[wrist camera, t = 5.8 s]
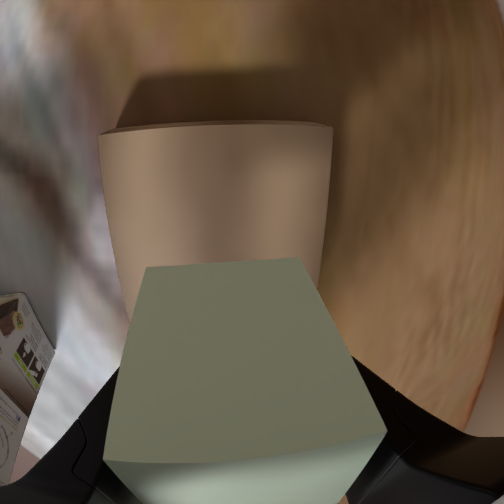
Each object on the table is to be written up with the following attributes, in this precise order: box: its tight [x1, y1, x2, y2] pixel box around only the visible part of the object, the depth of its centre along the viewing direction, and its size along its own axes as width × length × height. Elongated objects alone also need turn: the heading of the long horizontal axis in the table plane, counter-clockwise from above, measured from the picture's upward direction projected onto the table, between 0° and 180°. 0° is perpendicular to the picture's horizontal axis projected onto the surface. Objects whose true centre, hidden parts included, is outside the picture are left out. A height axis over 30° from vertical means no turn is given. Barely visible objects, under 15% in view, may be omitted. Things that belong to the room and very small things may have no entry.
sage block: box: [103, 257, 387, 504], centre depth 8 cm, size 4×4×6 cm
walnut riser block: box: [97, 120, 333, 323], centre depth 17 cm, size 11×11×4 cm
